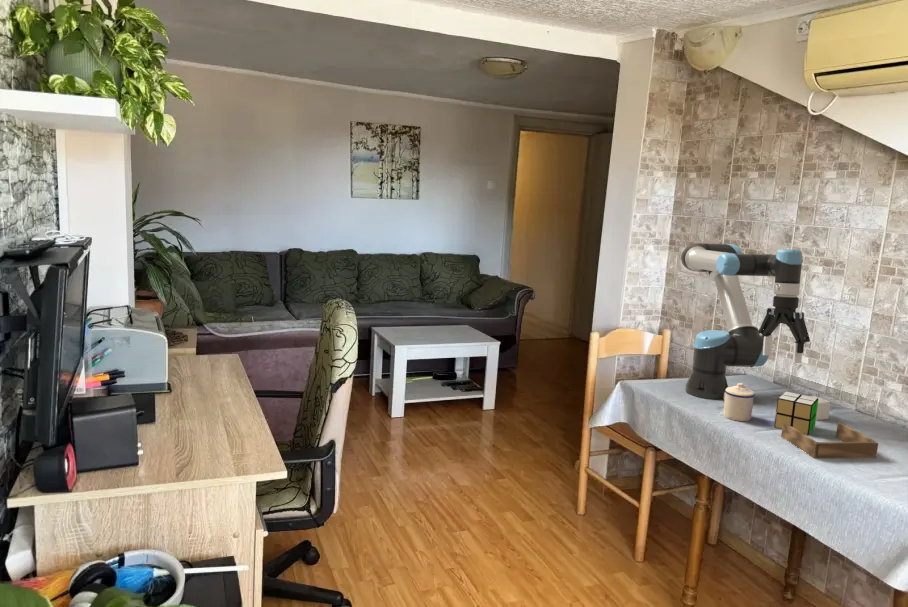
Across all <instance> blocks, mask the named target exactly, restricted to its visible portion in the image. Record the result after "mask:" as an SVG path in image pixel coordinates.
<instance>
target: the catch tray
mask: <svg viewBox="0 0 908 607" xmlns="http://www.w3.org/2000/svg"><path fill="white" fill-rule="evenodd" d="M780 436H781V438H782V437H783V438H782V439H784V440H785V439H786V440H785V441H787V442H788V441H789V442H788V443H790V442H791V443H792V444H791V443H790V444H791V445H793V444H794V445H795V447H796V446H797V447H798V448H797V447H796V448H797V449H799V448H800V449H801V451H802V450H803V451H804V453H805V452H806V453H805V454H806V455H808V454H809V455H808V456H810V457H811V458H812V459H869V458H870V459H874V458H875V459H876V458H877V457H878V456H877V454H878V447H879V442H877V441H876V440H873V439H872V438H870V437H869V436H866V435H865V434H863V433H860V432H859V431H857V430H856V429H853V428H851V427H849V426H848V425H846V424H844V423H842V422H837V426H836V433H835V437H836V438H837V439H839V440H841V441H816V440H814V439H813V438H811V437H809V435H805V434H803V433H801V432H800V431H798V430H797V429H795V428H793V427H792V426H790V425H788V424H787V423H783V426H782V429H781V435H780ZM794 445H793V446H794ZM800 449H799V450H800ZM803 451H802V452H803Z"/></svg>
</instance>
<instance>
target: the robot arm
mask: <svg viewBox="0 0 908 607" xmlns="http://www.w3.org/2000/svg"><path fill="white" fill-rule="evenodd" d="M802 258H803V252H802V250H800V249H786V248H785V249H784V248H783V249H782V248H779V249H778V250H777V252H776V254H771V253H763V254H762V253H758V254H757V253H756V254H755V253H743V252H742V249H740V247H739V246H737V245H736V244H731V243H704V242H702V243H701V242H700V243H698V242H697V243H694V244H691V245H688V246H687V247H686V248H684V249H683V251H682V252H681V256H680V261H681V263H682V265H683V266H684V268H685V269H687V270H688V271H692V272H696V273H697V272H699V273H708V275H709V278H710V280H711V281H713V282H714V283H715V287H716V291H717V293H718V297H719V301H720V305H721V309H722V312H723V316H724V319H725V323H726V327H727V329H728V331H727V330H721V329H720V330H717V329H714V330H713V329H709V330H703V331H701V332H700V331H699V332H698V333H697V334H696V336H695V341H694V344H693V359H692V369H691V372H690V375H689V377H688V379H687V380H686V383H685V389H684V390H685V392H686V393H688V394H689V395H692V396H693V397H694V396H695V397H698V398H703V399H709V400H721V399H723V400H724V393H725V390H726V388H728V387H729V385H728V381H727V377H726V376H727V374H726V373H727V372H726V371H727V367H733V368H734V367H741V368H742V367H743V368H745V367H746V368H754V367H755V368H756V367H763V366H764V365H765V364H766V363H767V361H768V359H769V357H770V356H771V355H772V346H773V345H772V343H773V336H772V334H773V333H774V331H775V330H776V329H777V327H778V326H779V325H780V324H783V325H786V326H787V327H788V328H789V331H790V332H791V334H792V336H793V339H795V342H794V343H793V355H792V363H793V364H801V363H802V358H803V353H804V350H805V349H804V348H805V344H806V343H810V342H811V338H810V335H809V332H808V328H807V325H806V321H805V313H804V312H800V311H799V312H798V311H797V309H799V300H800V299H799V295H800V288H801V275H802V264H803V259H802ZM740 276H743V277H745V276H746V277H747V276H749V277H772V278H773V277H774V288H773V289H774V290H773V294H774V296H773V297H772V298H773V300H772V306H773V307H767V309H766V314H765V316H764V318H763V320H762V322H761V324H760V327H759V328H758V327H757V326H754V325H753V323H752V320H751V315H750V313H749V309H748V306H747V303H746V299H745V295H744V292H743V290H742V285H741V282H740V280H739V277H740Z"/></svg>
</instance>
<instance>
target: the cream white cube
mask: <svg viewBox="0 0 908 607" xmlns="http://www.w3.org/2000/svg"><path fill="white" fill-rule="evenodd" d="M812 397H816V398H818V399H819V400H818V407H817V412H816V414H817V415H816V421H819V420H820V421H821V420H825V419H829V417H830V416H829V415H830V412H831V411H830V410H831V405H832V404H831V401H830V400H827V399H824V398H821V397H820V396H819V397H818V396H815V395H814V396H812Z"/></svg>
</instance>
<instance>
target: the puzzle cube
mask: <svg viewBox="0 0 908 607" xmlns="http://www.w3.org/2000/svg"><path fill="white" fill-rule="evenodd" d="M816 397H817V396H816ZM816 397H813V396H810V395H805V394H800V393H795V392H791V391H790V392H789V391H785V392H783V393H782V394H781V395H780V396H778V398H777V399H776V401H777V402H776V408H775V409H776V410H775V415H774V425H773V426H774V428H777V429H780V430H782V426H783V423H787V424H788V425H790V426H792V427H793V428H795V429H797V430H798V431H800V432H801V433H803V434H807V435H806V436H809V435H810V434H811V433H812V431H813V430H814V429H815V427H816V421H817V420H816V415H817V414H816V412H817V407H818V400H819V399H818V398H816Z"/></svg>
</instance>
